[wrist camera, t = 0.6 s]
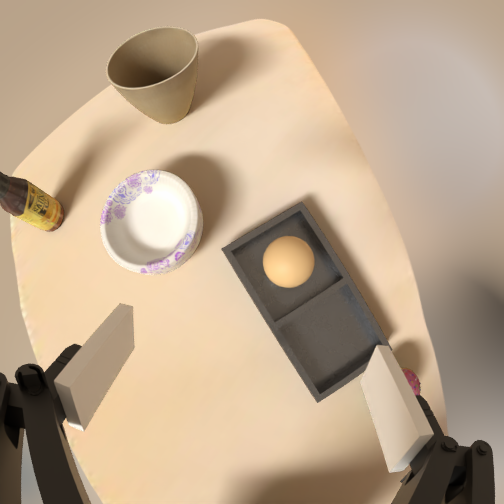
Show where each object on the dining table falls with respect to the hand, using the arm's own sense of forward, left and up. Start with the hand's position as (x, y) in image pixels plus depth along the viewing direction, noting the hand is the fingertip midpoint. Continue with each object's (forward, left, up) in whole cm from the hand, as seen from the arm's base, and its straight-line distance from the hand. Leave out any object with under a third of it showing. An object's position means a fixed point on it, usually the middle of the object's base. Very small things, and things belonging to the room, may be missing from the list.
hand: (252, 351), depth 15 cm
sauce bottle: (+35, +23, -31) cm, 52 cm away
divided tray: (-2, -9, -31) cm, 33 cm away
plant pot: (+41, -7, -31) cm, 52 cm away
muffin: (+4, -9, -30) cm, 32 cm away
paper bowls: (+20, +5, -32) cm, 38 cm away
